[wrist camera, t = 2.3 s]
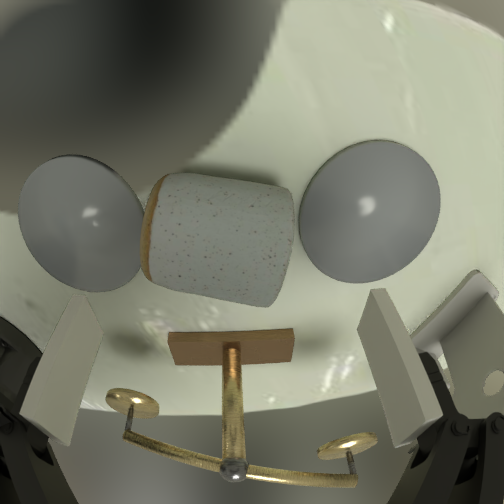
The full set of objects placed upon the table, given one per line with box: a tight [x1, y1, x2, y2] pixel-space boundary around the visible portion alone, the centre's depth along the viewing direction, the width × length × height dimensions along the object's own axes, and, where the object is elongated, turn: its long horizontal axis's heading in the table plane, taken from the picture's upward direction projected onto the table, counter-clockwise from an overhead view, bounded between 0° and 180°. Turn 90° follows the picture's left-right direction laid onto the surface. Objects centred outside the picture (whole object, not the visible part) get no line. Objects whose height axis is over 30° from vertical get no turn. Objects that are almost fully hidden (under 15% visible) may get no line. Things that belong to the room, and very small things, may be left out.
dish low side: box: [18, 155, 144, 292], centre depth 20 cm, size 12×12×1 cm
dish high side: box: [299, 140, 440, 283], centre depth 21 cm, size 12×12×1 cm
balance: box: [106, 329, 378, 487], centre depth 22 cm, size 23×5×16 cm, turn 90°
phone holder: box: [410, 270, 504, 419], centre depth 23 cm, size 17×10×18 cm, turn 151°
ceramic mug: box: [140, 173, 295, 307], centre depth 18 cm, size 10×8×7 cm
